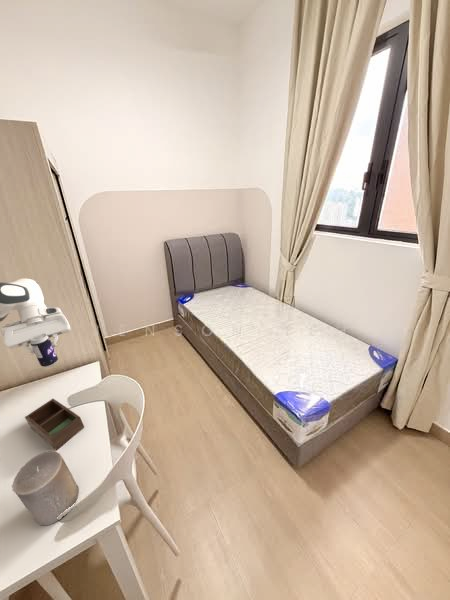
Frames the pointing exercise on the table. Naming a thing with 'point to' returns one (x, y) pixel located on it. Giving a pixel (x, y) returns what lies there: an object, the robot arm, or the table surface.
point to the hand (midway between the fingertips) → (44, 350)
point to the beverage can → (44, 350)
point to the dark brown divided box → (55, 423)
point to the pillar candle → (46, 487)
